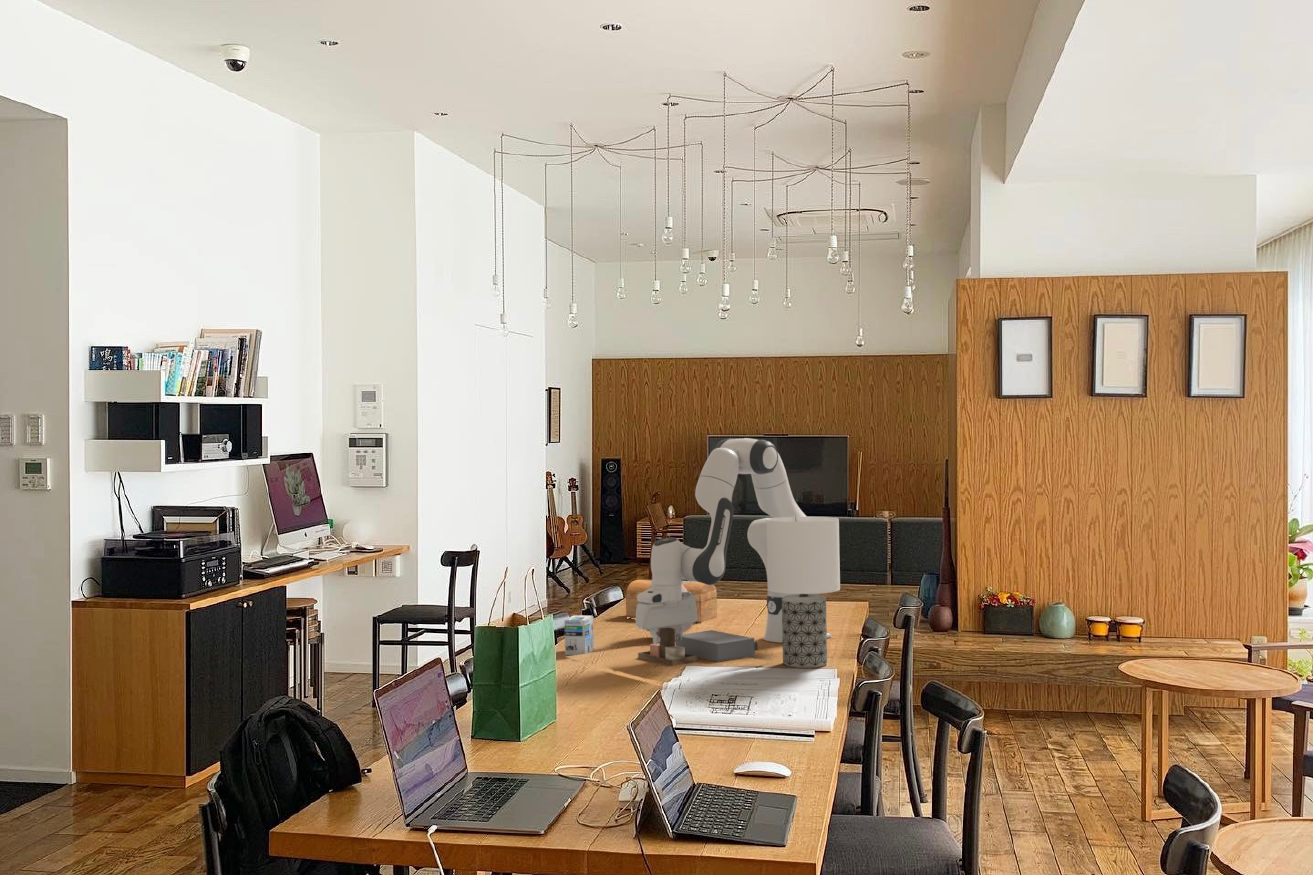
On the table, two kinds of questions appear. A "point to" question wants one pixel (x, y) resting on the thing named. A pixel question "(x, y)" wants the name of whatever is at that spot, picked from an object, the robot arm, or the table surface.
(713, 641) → the loading dock
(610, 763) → the table surface
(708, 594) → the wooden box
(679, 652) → the cream block
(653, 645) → the terracotta block
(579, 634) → the light bulb box
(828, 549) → the lamp
